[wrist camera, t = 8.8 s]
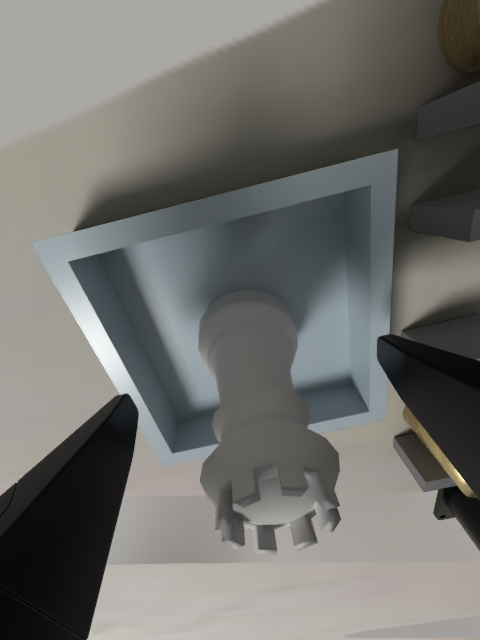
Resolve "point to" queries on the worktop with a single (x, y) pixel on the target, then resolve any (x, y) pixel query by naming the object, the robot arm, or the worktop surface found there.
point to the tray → (235, 275)
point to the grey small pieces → (456, 223)
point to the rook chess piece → (262, 428)
